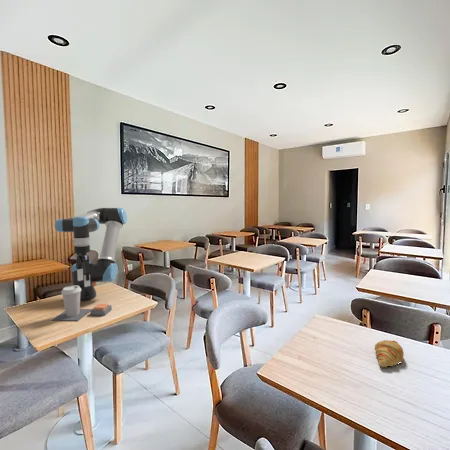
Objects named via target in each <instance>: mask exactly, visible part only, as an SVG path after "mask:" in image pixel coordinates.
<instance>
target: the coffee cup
mask: <svg viewBox="0 0 450 450" xmlns="http://www.w3.org/2000/svg"><path fill="white" fill-rule="evenodd" d="M80 292H81V288H80V286H77V285H74V286H73V285H69V286H65V287H63V288H62V290H61V292H60V293H61V295H62V299H63V300H62V301H63V305H64V311H65V313H66V316H67V317H72V316H76V315H78V314H79V312H80V309H81V308H80V307H81V301H80Z"/></svg>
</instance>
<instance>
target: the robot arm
mask: <svg viewBox="0 0 450 450" xmlns="http://www.w3.org/2000/svg"><path fill="white" fill-rule="evenodd" d="M127 222H128V219H127V212H126V210H125V209H124V208H123V207H100V208H99V207H98V208H95V209H90V210H88V211H87V212H86V213H83V214H80V215H76V216H73V217H68V218H59V219H56V221H55V222H54V229H55V231H56V232H58V233H73V240H72V242H73V245H74V246H73V247H74V248H73V249H74V254H76V260H75V261H76V262H75V263H74V264H73V265H72V266H71V270H70V272H71V282H72V283H71V284H72V285H71V286H74V285H77V286H80V288H81V292H80V302H85V301H90V300H92V299H95V298H96V297H97V291H96V288H95V286H94V283H109V282H112V281H114V280H115V279H116V277H117V275H118V269H119V267H118V265H117V263H116V262H117V261H116V260H115V256H116V250H117V246H118V245H117V244H118V240H119V235H120V229H122V228H123V225H125V224H127ZM100 225H105V227H106V228H105V232H104V238H103V241H102V242H103V243H102V247H101V251H100V256H99V258H97V259H96V262H95V263H93V262H92V260H90V257H89V255H87V253H90V252H91V246H90V244H91V241H90V233H93V232H95V231H97V230H99V228H100Z"/></svg>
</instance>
